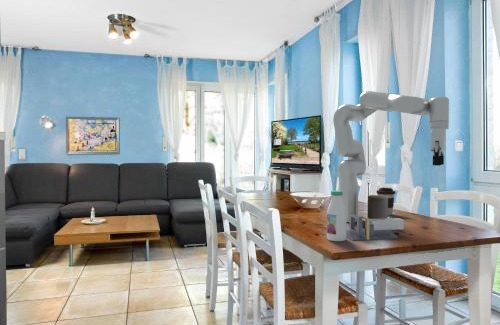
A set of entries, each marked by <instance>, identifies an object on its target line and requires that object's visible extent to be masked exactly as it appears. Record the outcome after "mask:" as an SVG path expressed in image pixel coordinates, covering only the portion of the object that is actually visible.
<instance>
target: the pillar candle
mask: <svg viewBox="0 0 500 325" xmlns="http://www.w3.org/2000/svg"><path fill="white" fill-rule="evenodd" d="M366 217H367V218H369V219H384V218H389V215H388V197H387V196H381V195H378V194H377V193H376V194H375V195H374V194H370V195H367V216H366Z"/></svg>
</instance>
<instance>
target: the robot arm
mask: <svg viewBox="0 0 500 325" xmlns="http://www.w3.org/2000/svg"><path fill="white" fill-rule="evenodd" d="M358 98H359V99H358V103H359V104H357V105H355V104H350V103H345V104H343V105H340V106H339V107H337V109H336V110H335V112H334V114H333V120H332V121H333V127H334V133H335V142H336V148H337V154H338V155H339V156H340V157H342V158H347V159H345V160H342V161H341V162H340V163H339V164H338V166H337V176H338V185H339V186H338V189H339V190H338V191H342V192H343V195H342V201H343V204H344V206H345V209H346V223H350V213H354V214H356V215H359V183H358V178H359V177H362V176H364V175H365V173H366V170H367V164H366V156H365V150H364V146H363V144H362V143H361V142H360V141H359V140H357V139H354V135H353V130H352V126H351V125H350V122H355V123H357V122H358V123H359V122H361V121H363V120H365V119H367V118H368V117H369V116H371V115H373V114H374V113H375V112H377V111H383V112H388V113H389V112H390V113H391V112H395V113H397V112H398V113H404V114H411V115H415V116H421V117H423V116H424V117H425V116H429V120H428V121H429V123H428V124H429V125H428V126H429V130H431V132H430V148H429V151H430V152H433V153H432V166H440V167H441V166H443V165H444V164H445V156H444V152H445V149H446V130H449V128H450V127H449V126H450V124H449V122H450V99H449V98H448V97H447V96H435V97H432V98H430V99H429V98H428V99H427V98H423V97H419V96H410V95H402V94H395V93H389V92H380V91H374V90H373V91H372V90H371V91H370V90H367V91H364V92H362V93H361V94H360V95H359V97H358ZM355 223H357V219H355Z"/></svg>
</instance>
